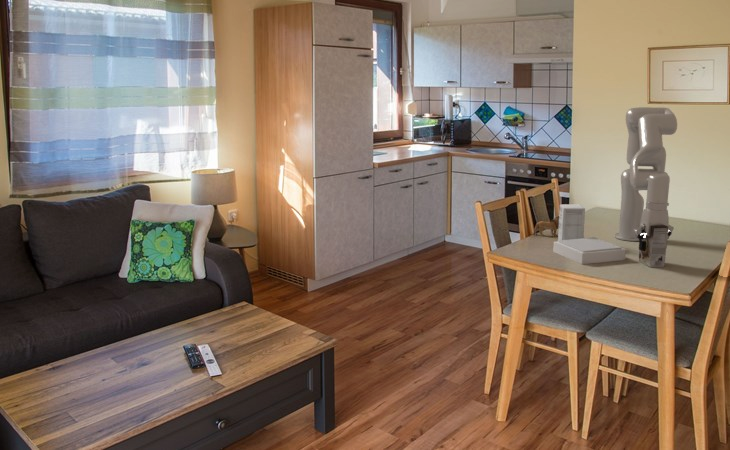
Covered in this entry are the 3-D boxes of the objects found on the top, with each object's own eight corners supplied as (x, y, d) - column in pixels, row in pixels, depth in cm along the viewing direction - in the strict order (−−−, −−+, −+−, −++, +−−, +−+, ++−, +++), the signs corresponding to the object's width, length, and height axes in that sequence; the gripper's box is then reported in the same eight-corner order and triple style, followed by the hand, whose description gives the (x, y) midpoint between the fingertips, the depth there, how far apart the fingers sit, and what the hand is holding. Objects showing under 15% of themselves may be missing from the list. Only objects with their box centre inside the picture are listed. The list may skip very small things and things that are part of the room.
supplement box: (579, 241, 296) (581, 204, 292) (583, 246, 287) (586, 208, 283) (557, 240, 297) (559, 203, 293) (561, 245, 288) (563, 207, 284)
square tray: (593, 248, 284) (594, 236, 283) (624, 259, 265) (625, 247, 264) (553, 251, 278) (553, 240, 277) (581, 264, 260) (582, 251, 259)
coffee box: (637, 261, 264) (641, 221, 260) (653, 260, 264) (656, 220, 261) (649, 267, 255) (652, 226, 251) (665, 266, 255) (669, 226, 252)
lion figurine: (558, 233, 312) (559, 214, 310) (564, 235, 307) (565, 216, 305) (529, 234, 309) (530, 215, 307) (535, 237, 304) (536, 218, 302)
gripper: (668, 203, 261) (664, 245, 264) (630, 205, 256) (627, 249, 259) (682, 206, 254) (677, 250, 257) (644, 209, 249) (640, 253, 252)
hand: (652, 249), depth 258 cm, fingers open, 9 cm apart
